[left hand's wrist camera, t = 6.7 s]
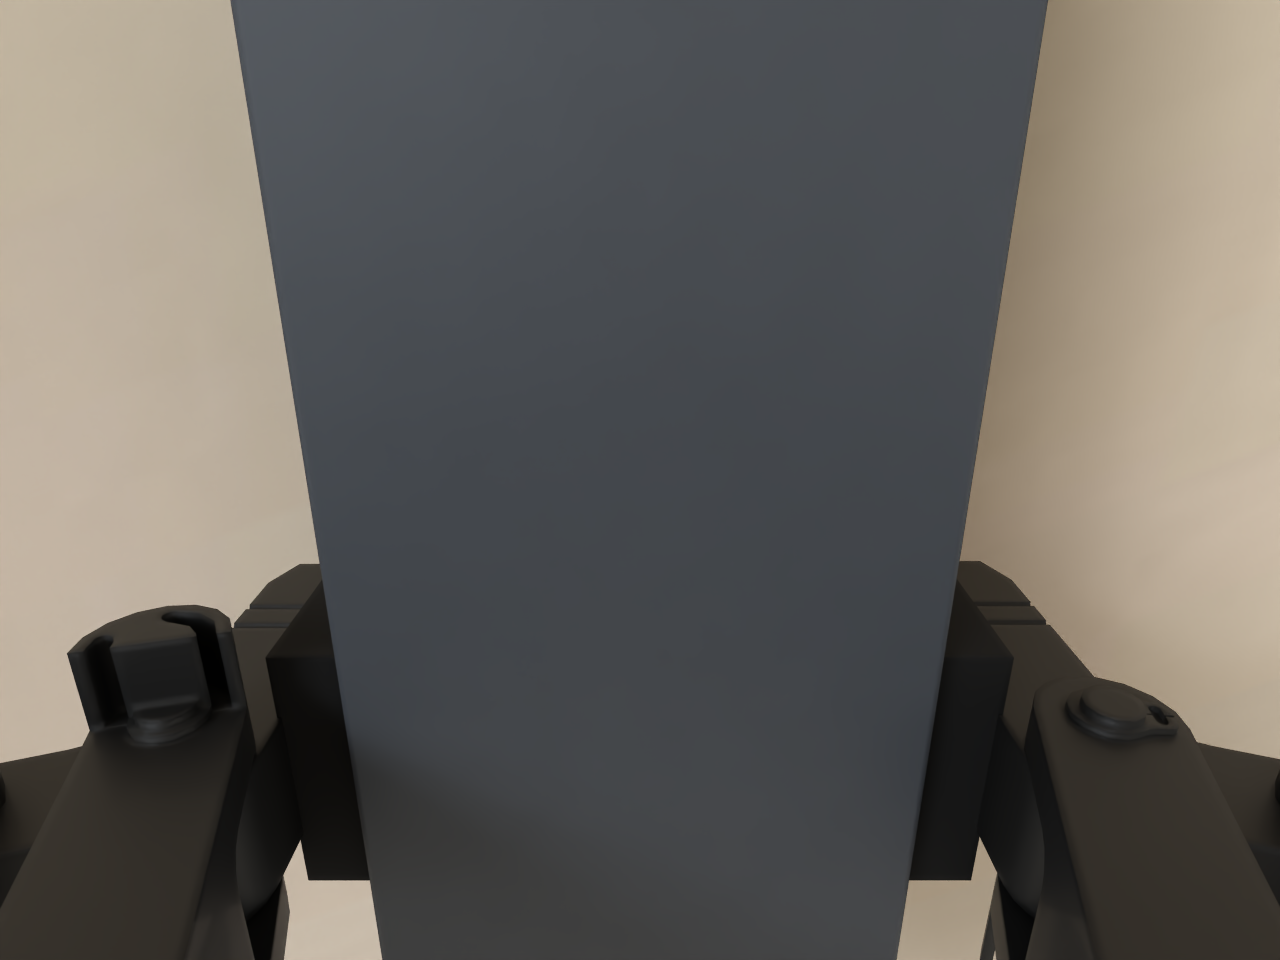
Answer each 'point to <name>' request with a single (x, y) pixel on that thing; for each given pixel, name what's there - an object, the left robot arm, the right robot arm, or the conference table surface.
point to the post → (639, 443)
